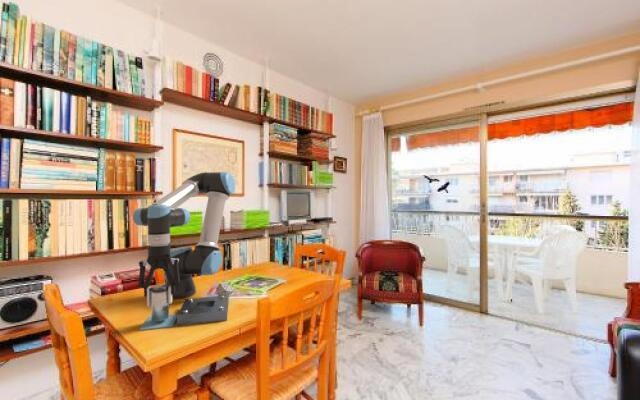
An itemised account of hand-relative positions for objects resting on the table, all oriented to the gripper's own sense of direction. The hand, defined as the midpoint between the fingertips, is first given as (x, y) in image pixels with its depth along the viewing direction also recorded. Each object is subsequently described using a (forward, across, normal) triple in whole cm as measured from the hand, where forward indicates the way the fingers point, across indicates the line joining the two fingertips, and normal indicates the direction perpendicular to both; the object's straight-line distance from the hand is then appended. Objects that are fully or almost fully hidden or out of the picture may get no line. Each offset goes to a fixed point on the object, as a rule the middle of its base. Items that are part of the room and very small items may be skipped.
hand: (159, 303), depth 113 cm
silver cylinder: (+6, 0, 0) cm, 6 cm away
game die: (+8, +23, +21) cm, 32 cm away
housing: (+8, +16, +4) cm, 18 cm away
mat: (+8, 0, 0) cm, 8 cm away
